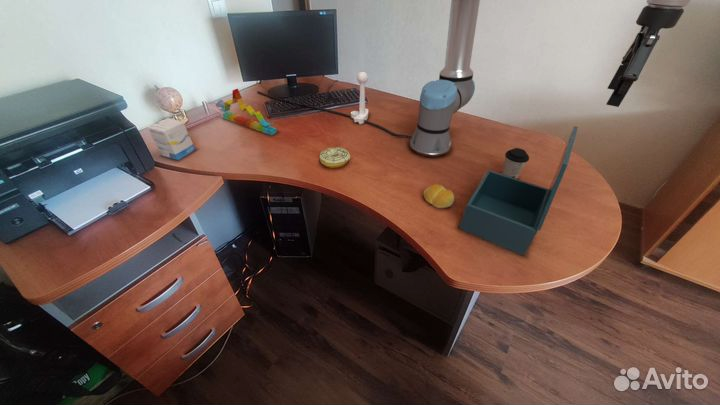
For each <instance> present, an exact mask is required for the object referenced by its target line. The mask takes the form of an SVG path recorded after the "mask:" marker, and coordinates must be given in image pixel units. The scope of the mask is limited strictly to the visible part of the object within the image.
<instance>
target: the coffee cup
mask: <svg viewBox="0 0 720 405" xmlns="http://www.w3.org/2000/svg"><path fill="white" fill-rule="evenodd" d="M504 156H505V158H504V161H503V166H502V171H501V174H503V175H506V176H509V177H512V178H515V179H518V178H519V176H520V174H521V173H522V171H523V170H524V167H525V166H526V164H527V163H528V162H529V160H530V156H529V154H528V153H527V152H526V150H524V149H522V148H519V147H515V148H511V149H509V150H507V151H505V154H504Z"/></svg>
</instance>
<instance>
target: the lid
mask: <svg viewBox="0 0 720 405" xmlns="http://www.w3.org/2000/svg"><path fill="white" fill-rule="evenodd" d="M578 129H579V126H575V125H574V126H573V128H572V130H571V133H570V135H569V138H568V140H567V143H566V145H565V148H564V151H563V153H562V155H561V159H560V160H559V163H558V166H557V168H556V171H555V174H554V176H553V179H552V181H551V184H550V186H549V188H548V189H549V192H548V195H547V198H546V201H545V204H544V207H543V210H542V213H541V216H540V219H539V223H538V226H537V229H536V230H538V231H541V230H542V227H543V225H544V223H545V220H546V218H547V215H548V213H549V210H550V208H551V206H552V203H553V201H554V199H555V196H556V194H557V191H558V189H559V187H560V185H561V181H562V180H563V177H564V175H565V172H566V171H567V170H566V169H567V167H568V165H569V161H570V157H571V154H572V151H573V147H574V143H575V139H576V135H577V132H578Z"/></svg>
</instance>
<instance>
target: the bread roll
mask: <svg viewBox="0 0 720 405" xmlns="http://www.w3.org/2000/svg"><path fill="white" fill-rule="evenodd" d="M423 198H424V200H425V201H426V202H427V203H429V204H430V205H431V206H433V207H434V208H436V209H445V208H450V207H451V206H453V204H454V201H455V195H454V193H453V192H452V190H451V189H448V188H447V189H446V188H445V187H444V186H443V185H441V184H432V185H430V186H428V187H427V188H425V189H424V191H423Z"/></svg>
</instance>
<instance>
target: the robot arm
mask: <svg viewBox="0 0 720 405" xmlns="http://www.w3.org/2000/svg"><path fill="white" fill-rule="evenodd" d="M690 3H691V0H646V4H647V5H645V6H644V7H643V8H642V10H641V11H640V12H639V14H638V17H637V19H636V20H635V24H636V25H638V26H640V30H639V32H638V33H637V34H636V35H635V38H634V40H633V41H632V43H631V45H630V46H629V47H628V49H627V51H626V52H625V54H624V56H622V60H621V62H620V65H619V66H618V68H617V69H616V72H615V74H614V75H613V77H612V79H611V81H610V82H609V84H608V86H607V87H606V88H607V90H612V93H611V95H610V96H609V99H608V100H607V102H606V104H605V105H607V106H612V107H616V108H619V107H620V105H621V104H622V102H623V100H624V99H625V97H626V96H627V94H628V92H629V91H630V89H631V87H632V85H633V84H634V83H635V82H637V81H638V80H639V77H640V76H641V73H642V71H643V69H644V68H645V66H646V63H647V61H648V60H649V57H650V56H651V54H652V52H653V50H654V48H655V46H656V44H657V43H658V41H659V40H660V38H661V35H659V33H660V30H661V29H667V30H668V29H673V28H674V27H676V25H677V24H678V22H679V21H680V18H681V17H682V16H683V14H684V12H685V10H684V7H686V6H688V5H689V4H690ZM480 4H481V0H451V1H450V12H449V20H448V29H447V30H448V32H447V40H446V51H445V60H444V67H443V68H442V69H441V70H440V71H439V76H438V79H436V80H431V81H429V82H427V83H425V84H424V85H423V87H422V89H421V92H420V94H419V106H418V114H417V121H416V127H415V130H414V132H413V134H412V135H409V134H402V133H397V132H392V131H391V130H389V129H387V128H386V127H384V126H382V125H380V124H377V123H374V122H372V121H368V120H364V123H366V124H369V125H370V126H371V125H372V126H374V127H376V128H379V129H380V130H383V131H385V132H386V133H388V134H390V135H392V136H395V137H402V138H407V139H409V149H410V150H411V151H412V152H413V153H414V154H416V155H418V156H421V157H424V158H442V157H444V156H446V155H448V154H449V153H450V152H451V147H452V140H451V136H450V129H451V128H450V127H451V123H452V118H453V115H454V114H455V113H457V112H458V111H459V110H461V109H462V108H464V107H465V106H466V105H467V104H468V103H469V102H470V101H471V100H472V98H473V97H474V94H475V90H476V84H475V81H474V80H473V78H474V71H473V69H472V68H471V61H472V56H473V48H474V42H475V36H476V30H477V23H478V17H479V16H478V15H479V10H480ZM256 93H257V94H260V95H262V96H264V97H267V98H271V99H274V100H277V101H281V100H282V99H283V98H279V97H277V96H272V95H270V94H267V93H264V92H262V91H259V90H257V91H256ZM292 102H293V101H292ZM292 102H290V103H289V102H287V101H286V102H285V103H289V104H293V103H292ZM296 105H297V106H301V105H300V104H296ZM312 106H313V105H310V106H305V107H306V108H311V109H314V110H320V111H324V112H329V113H333V114H337V115H340V116H345V117H348V118H351V114H348V113H344V112H339V111H336V110H332V109H327V108H323V107H319V108H317V107H318V106H315V107H312Z"/></svg>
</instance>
